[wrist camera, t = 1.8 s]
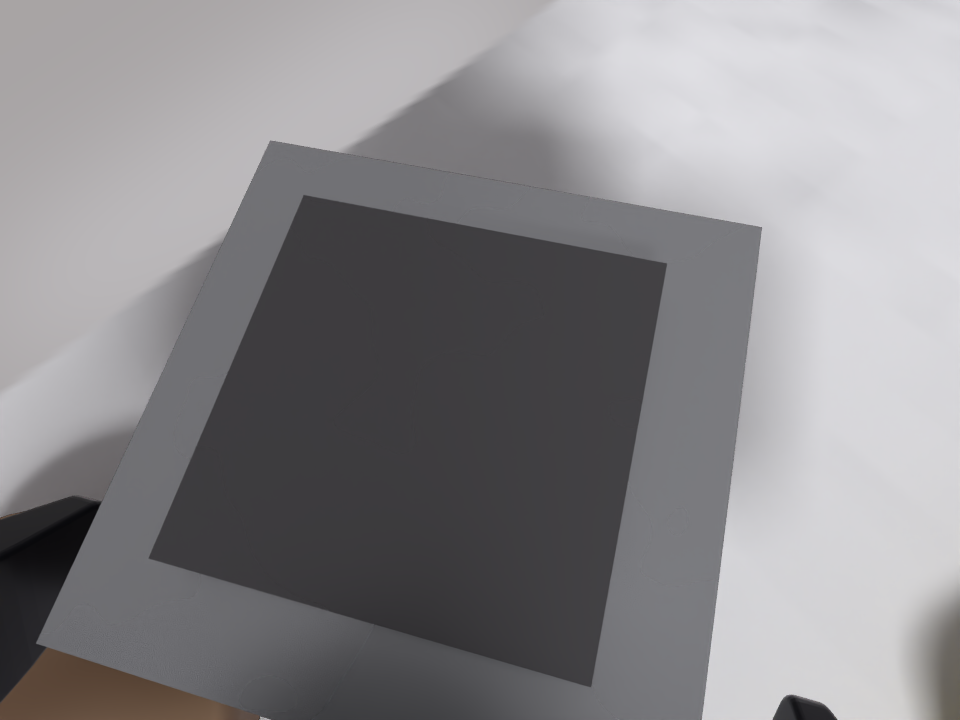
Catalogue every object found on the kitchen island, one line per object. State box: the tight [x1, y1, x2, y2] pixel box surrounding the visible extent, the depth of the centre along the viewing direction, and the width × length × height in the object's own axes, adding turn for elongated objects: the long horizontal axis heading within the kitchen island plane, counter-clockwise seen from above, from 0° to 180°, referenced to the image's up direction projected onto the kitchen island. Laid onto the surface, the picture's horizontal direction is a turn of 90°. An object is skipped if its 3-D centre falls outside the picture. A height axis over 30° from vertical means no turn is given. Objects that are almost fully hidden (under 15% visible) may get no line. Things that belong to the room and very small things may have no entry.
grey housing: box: [36, 141, 762, 720], centre depth 12 cm, size 6×6×12 cm
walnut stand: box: [0, 511, 259, 720], centre depth 15 cm, size 9×9×3 cm
